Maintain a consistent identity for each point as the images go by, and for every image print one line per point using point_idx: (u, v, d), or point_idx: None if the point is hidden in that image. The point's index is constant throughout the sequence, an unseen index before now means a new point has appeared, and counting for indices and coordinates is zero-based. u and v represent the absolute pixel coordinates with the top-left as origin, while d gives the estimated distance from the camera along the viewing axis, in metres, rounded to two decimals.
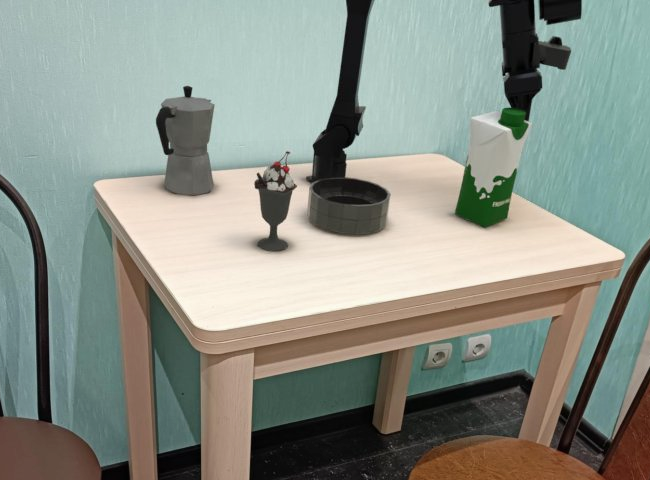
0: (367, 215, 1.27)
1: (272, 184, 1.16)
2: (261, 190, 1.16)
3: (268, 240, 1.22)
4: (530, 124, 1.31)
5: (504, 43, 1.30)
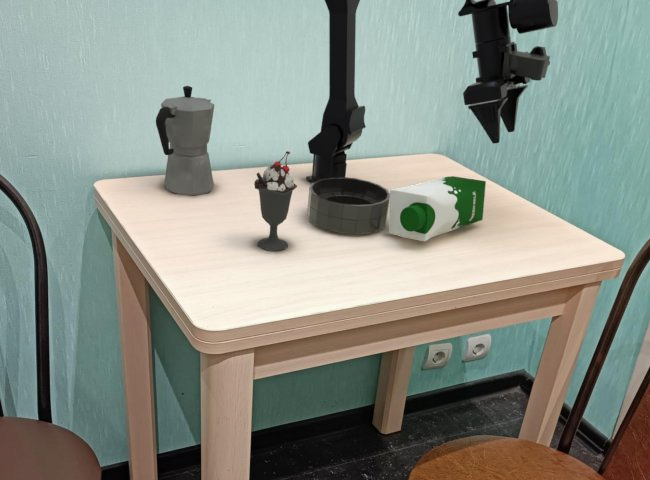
0: (367, 215, 1.27)
1: (272, 184, 1.16)
2: (261, 190, 1.16)
3: (268, 240, 1.22)
4: (427, 199, 1.23)
5: (474, 53, 1.25)
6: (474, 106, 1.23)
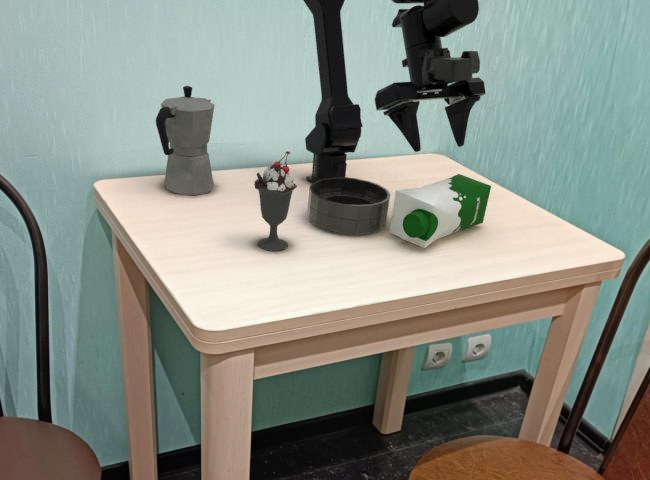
0: (367, 215, 1.27)
1: (272, 184, 1.16)
2: (261, 190, 1.16)
3: (268, 240, 1.22)
4: (432, 208, 1.22)
5: (403, 62, 1.21)
6: (386, 111, 1.19)
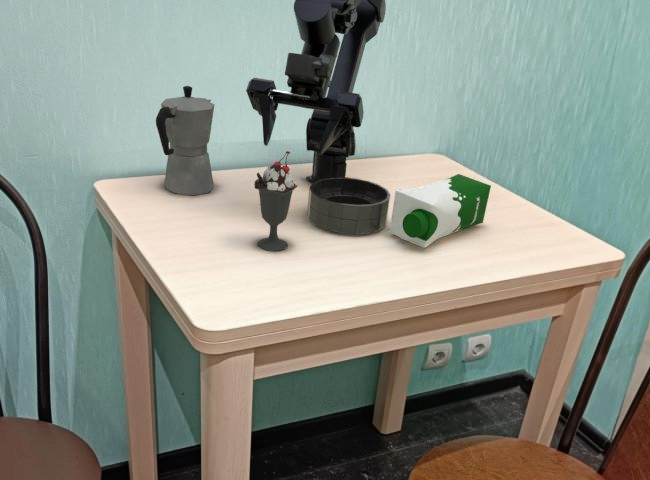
0: (367, 215, 1.27)
1: (272, 184, 1.16)
2: (261, 190, 1.16)
3: (268, 240, 1.22)
4: (432, 208, 1.22)
5: None
6: None
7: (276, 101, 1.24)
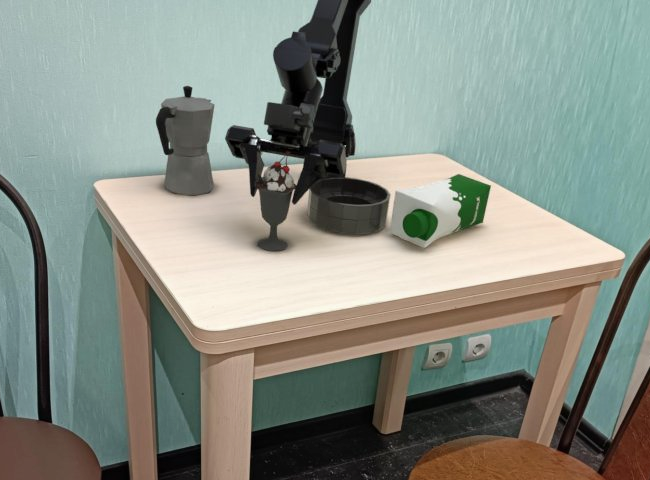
0: (367, 215, 1.27)
1: (272, 184, 1.15)
2: (261, 190, 1.16)
3: (268, 240, 1.22)
4: (432, 208, 1.22)
5: None
6: (245, 158, 1.22)
7: None
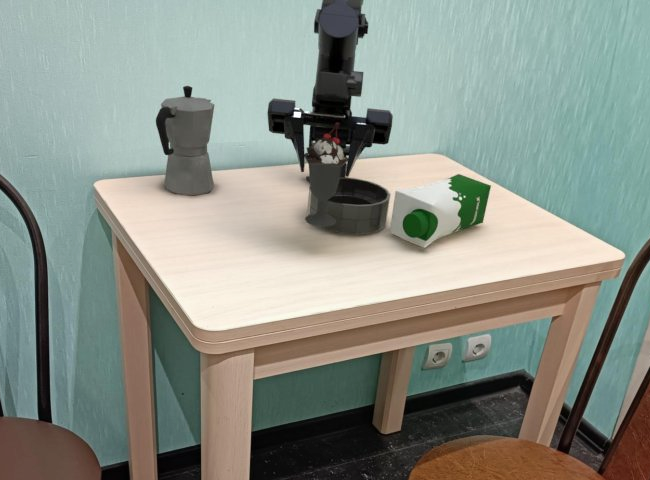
0: (367, 215, 1.27)
1: (326, 157, 1.12)
2: (315, 164, 1.12)
3: (317, 216, 1.19)
4: (432, 208, 1.22)
5: None
6: None
7: None
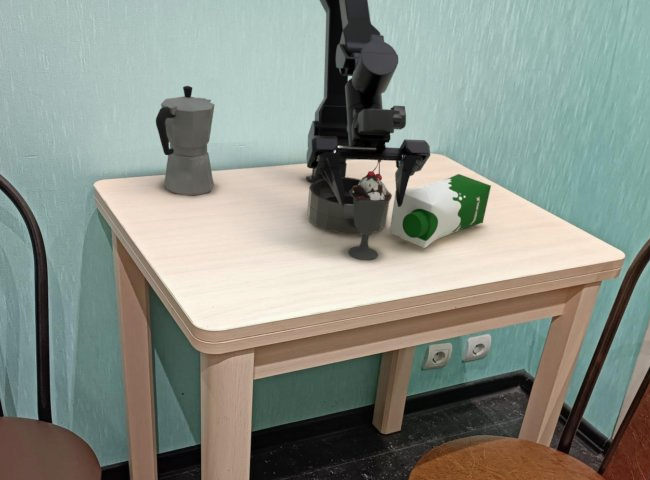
0: None
1: (374, 194, 1.16)
2: (364, 202, 1.16)
3: (361, 250, 1.22)
4: (432, 208, 1.22)
5: (347, 127, 1.22)
6: (316, 167, 1.19)
7: None
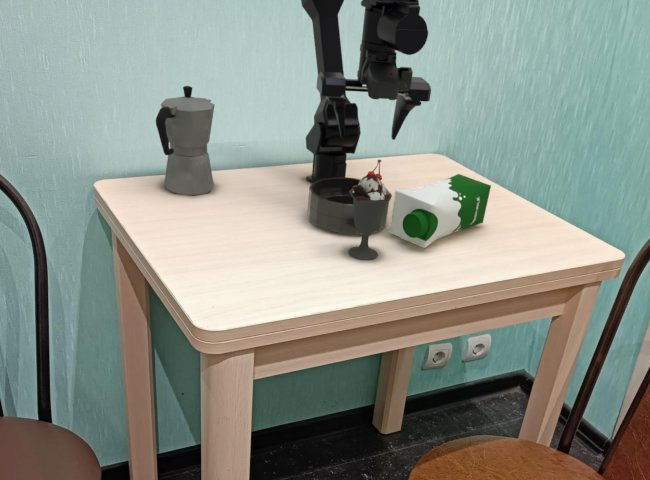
0: None
1: (374, 194, 1.16)
2: (364, 202, 1.16)
3: (361, 250, 1.22)
4: (432, 208, 1.22)
5: (360, 46, 1.27)
6: None
7: (345, 90, 1.28)
